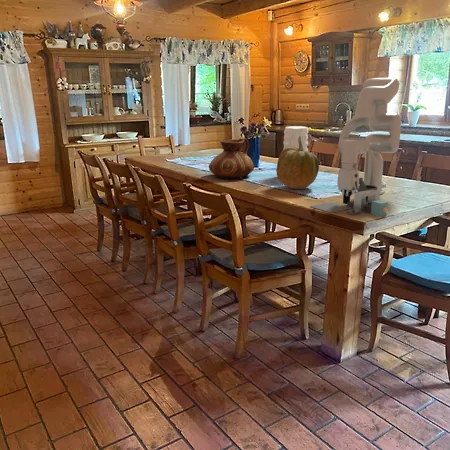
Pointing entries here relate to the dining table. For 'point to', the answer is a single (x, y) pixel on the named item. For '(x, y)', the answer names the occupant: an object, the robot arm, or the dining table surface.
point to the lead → (367, 207)
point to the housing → (363, 200)
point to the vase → (295, 136)
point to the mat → (331, 207)
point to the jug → (232, 160)
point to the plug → (379, 208)
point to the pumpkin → (297, 167)
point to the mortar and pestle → (365, 187)
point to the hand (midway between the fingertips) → (346, 203)
